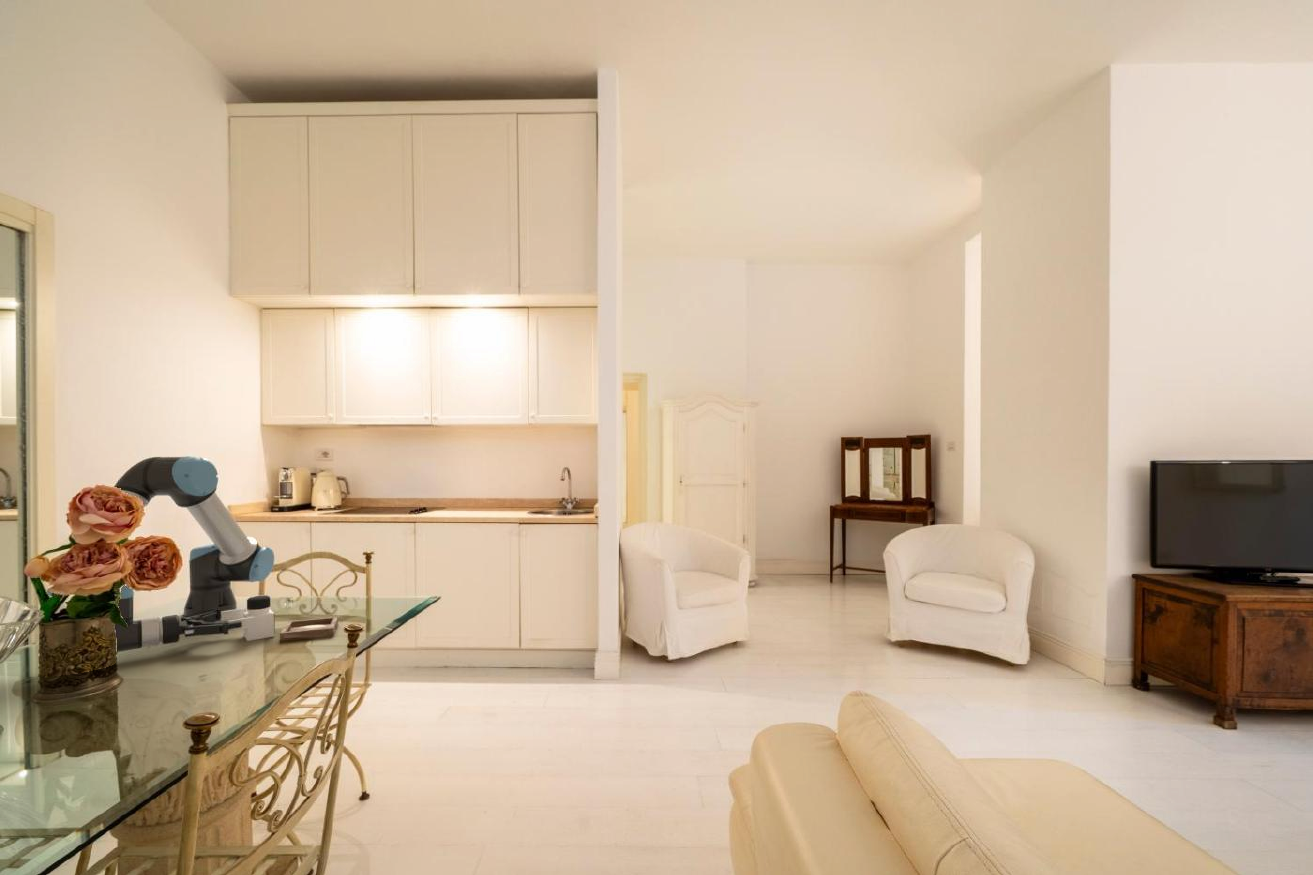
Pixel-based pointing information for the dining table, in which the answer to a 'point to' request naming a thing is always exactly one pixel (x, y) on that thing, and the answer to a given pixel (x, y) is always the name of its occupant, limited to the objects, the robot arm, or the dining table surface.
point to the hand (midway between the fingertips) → (250, 616)
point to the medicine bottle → (259, 618)
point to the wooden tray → (309, 629)
